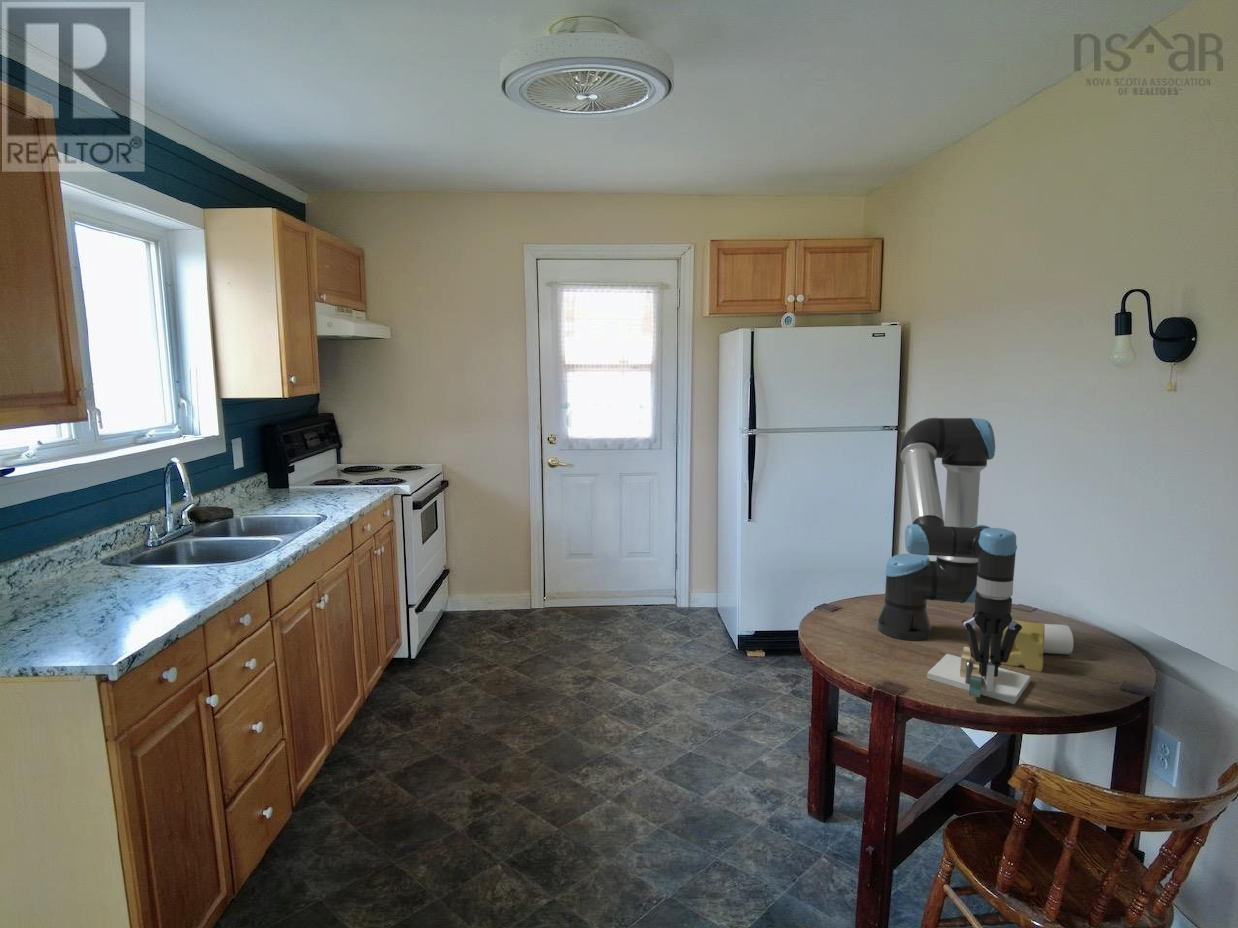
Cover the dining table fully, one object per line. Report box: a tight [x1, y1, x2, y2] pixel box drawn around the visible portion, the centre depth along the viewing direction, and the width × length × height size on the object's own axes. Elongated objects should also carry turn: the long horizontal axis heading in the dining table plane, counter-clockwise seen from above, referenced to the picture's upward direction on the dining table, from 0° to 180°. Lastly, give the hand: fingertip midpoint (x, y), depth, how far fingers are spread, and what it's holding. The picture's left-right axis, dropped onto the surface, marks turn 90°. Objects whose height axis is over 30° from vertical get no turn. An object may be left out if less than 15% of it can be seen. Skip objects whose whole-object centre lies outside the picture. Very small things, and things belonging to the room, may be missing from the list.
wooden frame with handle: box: [960, 646, 997, 698], centre depth 167 cm, size 18×8×5 cm, turn 148°
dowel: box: [965, 661, 973, 684], centre depth 167 cm, size 1×1×6 cm
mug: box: [1040, 623, 1074, 656], centre depth 189 cm, size 12×10×8 cm
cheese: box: [1000, 619, 1045, 673], centre depth 182 cm, size 10×11×10 cm
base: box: [926, 653, 1031, 705], centre depth 171 cm, size 20×16×8 cm
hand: (987, 688), depth 161 cm, fingers closed
